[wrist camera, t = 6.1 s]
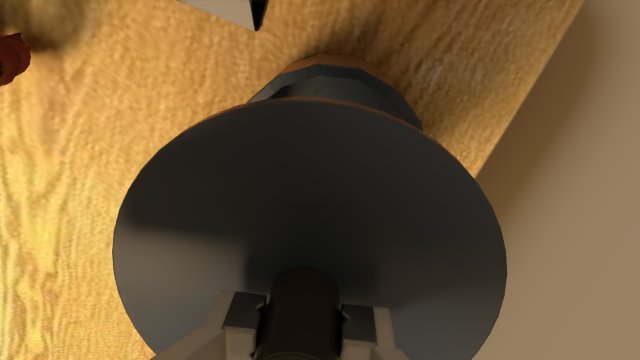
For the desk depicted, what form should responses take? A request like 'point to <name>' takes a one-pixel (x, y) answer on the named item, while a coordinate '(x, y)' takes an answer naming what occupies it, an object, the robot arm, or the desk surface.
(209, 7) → the black wedge
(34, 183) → the desk surface
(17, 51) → the mug
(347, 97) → the enamel pot
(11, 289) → the desk surface
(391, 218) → the pot lid
